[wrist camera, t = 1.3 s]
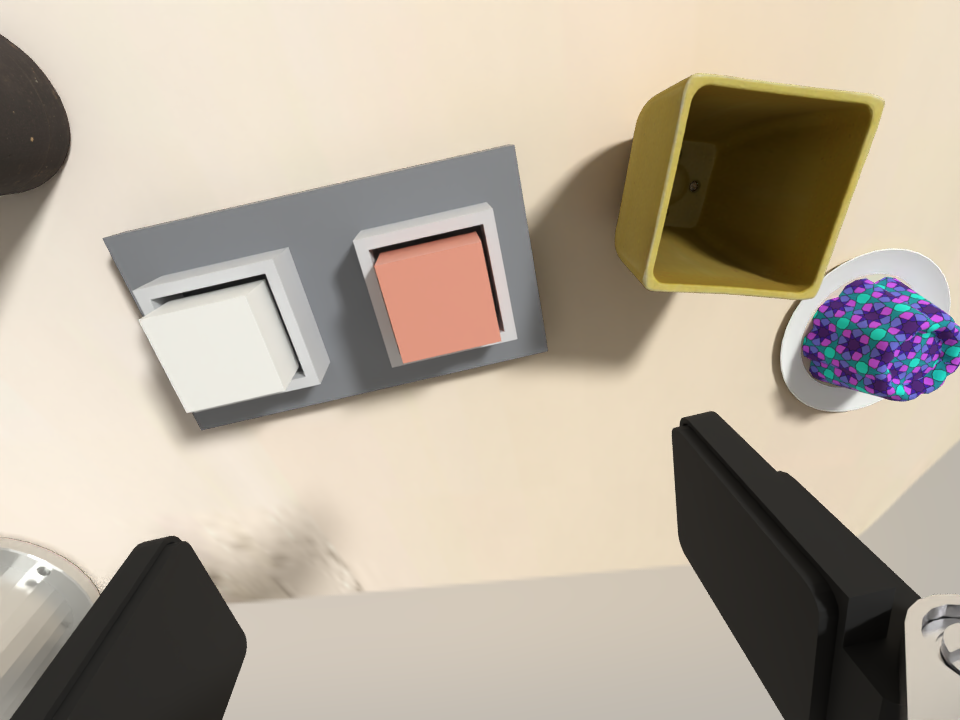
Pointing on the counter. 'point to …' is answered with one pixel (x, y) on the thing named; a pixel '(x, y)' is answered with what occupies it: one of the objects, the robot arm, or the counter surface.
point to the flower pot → (742, 185)
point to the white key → (222, 345)
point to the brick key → (438, 296)
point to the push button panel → (347, 271)
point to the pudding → (873, 334)
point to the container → (28, 123)
